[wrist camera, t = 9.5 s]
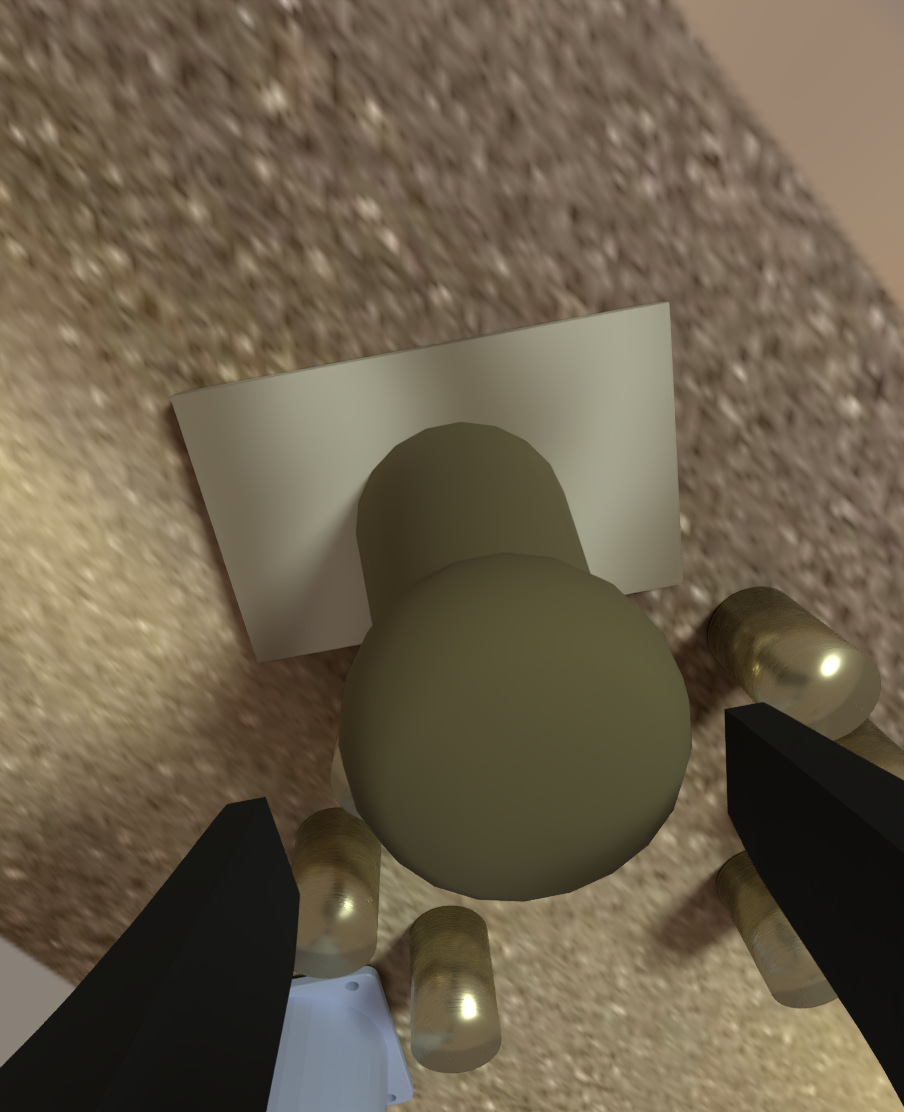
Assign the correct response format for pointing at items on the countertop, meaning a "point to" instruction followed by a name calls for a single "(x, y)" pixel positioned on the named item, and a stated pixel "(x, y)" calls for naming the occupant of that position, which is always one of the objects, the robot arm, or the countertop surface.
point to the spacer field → (461, 934)
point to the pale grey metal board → (408, 408)
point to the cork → (502, 679)
